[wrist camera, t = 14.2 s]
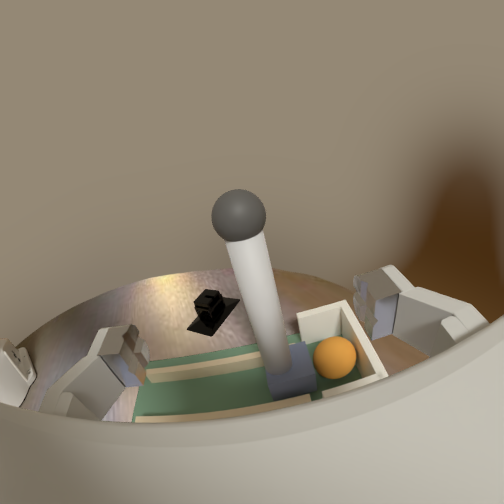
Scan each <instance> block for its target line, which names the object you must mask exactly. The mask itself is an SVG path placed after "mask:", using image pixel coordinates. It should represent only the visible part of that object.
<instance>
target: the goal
mask: <svg viewBox="0 0 504 504" xmlns="http://www.w3.org/2000/svg"><path fill="white" fill-rule="evenodd" d="M296 314H297V320H298V326H299V331H300V337H301V342H303V341H305V343H306V344H310V343H314V342H317V341H321V340H324V339H326V338H329V337H334V336H338V335H341V334H342V336H343V338H345V339H347V340H348V341H350V342H351V343H352V345H353V346H354V348H355V351H356V362H355V364H356V366H357V368H358V370H359V372H360V374H361V377H362V379H359V380H357V381H354V382H351V383H348V384H344V385H341V386H338V387H335V388H332V389H328V390H325V391H322V398H326V397H329V396H333V395H336V394H340V393H343V392H346V391H349V390H352V389H355V388H358V387H361V386H364V385H367V384H369V383H372V382H375V381H378V380H380V379H383V378H385V377H388V374H387V372H386V370H385V368H384V367H383V365H382V363H381V361H380V359H379V357H378V356H377V354H376V352H375V350H374V348H373V347H372V345H371V343H370V341H369V339H368V338H367V336H366V334H365V332H364V331H363V329H362V327H361V325H360V324H359V322H358V320H357V318H356V317H355V315H354V313H353V312H352V310H351V308H350V307H349V305H348V303H347V302H346V300H343V301H340V302H336V303H333V304H329V305H326V306H322V307H319V308H315V309H311V310H308V311H304V312H300V313H296ZM292 344H295V343H292ZM289 345H291V344H289ZM263 366H264V363H263V360H262V357H261V354H260V351H258V352H253V353H248V354H243V355H238V356H233V357H228V358H223V359H217V360H211V361H205V362H199V363H192V364H186V365H178V366H171V367H163V368H154V369H146V372H147V373H146V376H147V378H148V379H149V380H150V381H151V383H159V382H169V381H178V380H187V379H194V378H202V377H209V376H215V375H221V374H227V373H233V372H238V371H244V370H249V369H254V368H258V367H263ZM307 402H311V398H310V394H305V395H301V396H297V397H293V398H289V399H285V400H280V401H275V402H271V403H266V404H260V405H255V406H249V407H243V408H237V409H230V410H223V411H215V412H207V413H197V414H185V415H169V416H136V418H135V422H136V423H160V422H185V421H200V420H211V419H220V418H228V417H236V416H243V415H249V414H255V413H261V412H267V411H272V410H277V409H282V408H286V407H291V406H295V405H299V404H303V403H307Z"/></svg>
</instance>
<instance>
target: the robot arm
mask: <svg viewBox="0 0 504 504" xmlns="http://www.w3.org/2000/svg"><path fill="white" fill-rule="evenodd" d="M354 287H355V289H356V290H357V291H356V293H355V294H354V296H353V298H354V307H355V311H356V314H357V316H358V318H359V320H361V321H363V322H365V326H364V328H365V330H366V332H367V333H368V335H369V337H370V338H371V340H374V339H378V338H381V337H384V336H387V335H390V334H393V335H394V336H396V337H398V338H399V339H401V340H403V341H404V342H406V343H408V344H410V345H411V346H413V347H415V348H416V349H418V350H420V351H421V352H423V353H425V354H427V355H428V356H430V357H429V359H427V360H425V361H423V362H421V363H418V364H416V365H414V366H412V367H409V368H407V369H405V370H403V371H400V372H398V373H395V374H393V375H390V376H388V377H385V378H383V379H380V380H378V381H375V382H372V383H369V384H367V385H364V386H361V387H358V388H355V389H352V390H349V391H346V392H343V393H340V394H336V395H333V396H329V397H326V398H322V399H319V400H315V401H311V402H307V403H303V404H299V405H295V406H291V407H286V408H282V409H277V410H272V411H267V412H261V413H255V414H249V415H243V416H236V417H228V418H220V419H211V420H200V421H185V422H160V423H136V422H112V421H101V420H102V419H103V418H104V416H105V415H106V413H107V412H108V411H109V409H110V408H111V407H112V405H113V404H114V403H115V401H116V400H117V399H118V397H119V396H120V395H121V393H122V392H123V391H124V389H125V387H134V386H144V381H145V377H146V373H147V372H146V371H145V369H144V368H145V367H146V366H147V365H148V364H149V359H150V354H149V348H148V346H147V344H146V342H145V340H143V339H142V338H140V337H138V336H139V331H138V329H137V328H136V326H135V325H132V324H130V325H122V326H114V327H107V328H101V329H100V330H99V331H98V333H97V335H96V337H95V339H94V341H93V343H92V345H91V348H90V350H89V352H88V354H87V357H83V358H82V359H81V360H80V361H79V362H77V363H76V364H75V365H74V366H73V367H72V368H71V369H70V370H69V371H67V372H66V373H65V374H64V375H63V376H62V377H61V378H60V379H59V380H57V381H56V382H55V383H54V384H53V385H52V386H51V387H50V388H49V389H48V390H47V392H46V394H45V397H44V399H43V401H42V404H41V406H40V409H39V411H38V412H37V411H32V410H28V409H23V408H19V406H20V405H21V403H22V402H23V400H24V398H25V396H26V394H27V391H28V389H29V387H30V385H31V384H32V383H33V381H34V380H35V378H36V373H35V370H34V368H33V365H32V362H31V360H30V357H29V354H28V351H27V349H26V348H25V347H22V348H19V349H16V348H15V347H14V345H13V344H12V343H11V342H10V341H9V340H8V339H5V338H0V504H504V315H503V316H501V317H500V318H499V319H497V320H496V321H494V322H493V323H491V324H489V323H488V322H487V321H486V319H485V318H484V317H483V316H482V315H481V314H480V313H479V312H478V311H477V310H476V309H475V308H474V307H473V306H472V305H471V304H468V303H465V302H462V301H460V300H456V299H454V298H451V297H448V296H445V295H442V294H439V293H436V292H433V291H430V290H427V289H424V288H421V287H416V288H415V287H414V286H413V285H412V284H411V283H410V282H409V281H408V280H407V279H406V278H405V277H404V276H403V275H402V274H401V273H400V272H399V271H398V270H397V269H396V268H395V267H394V266H393V265H388V266H386V267H382V268H380V269H378V270H374V271H371V272H367V273H364V274H360V275H357V276H355V277H354Z"/></svg>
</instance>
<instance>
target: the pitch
mask: <svg viewBox="0 0 504 504" xmlns="http://www.w3.org/2000/svg"><path fill="white" fill-rule="evenodd" d="M338 337H343V336H342V334H341V335H338ZM287 340H288V344H292V343H299V342H301V337H300V333H297V334H293V335H289V336H287ZM322 341H323V340H321V341H317V342H314V343H310V344H306V346H307V349H308V352H309V355H310V358H311V361H312V364H313V354H314V351H315V349H316V347H317V346H318V344H319V343H320V342H322ZM258 351H259V348H258V345H257V343H255V344H251V345H246V346H241V347H236V348H231V349H226V350H221V351H215V352H210V353H204V354H198V355H192V356H185V357H179V358H172V359H164V360H157V361H149V364H148V365H147V366H146V367H145V368H144V369H145V371H146V369H154V368H163V367H171V366H178V365H186V364H192V363H199V362H205V361H211V360H217V359H223V358H228V357H233V356H238V355H243V354H248V353H253V352H258ZM313 367H314V364H313ZM314 370H315V374H316V383H317V391H314V392H311V393H307V394H310V398H311V401H315V400H319V399H322V391H325V390H328V389H332V388H335V387H338V386H341V385H344V384H348V383H351V382H354V381H357V380H359V379H362V377H361V374H360V372H359V370H358V368H357V366H356V364H355V365H354V367H353V369H352V370H351V371H350V372H349V373H348V374H347V375H346V376H344V377H342V378H338V379H328V378H325V377H323V376H322V375H320V374H319V373H318V372H317V371H316V369H315V367H314ZM303 395H305V394H303ZM299 396H301V395H299ZM295 397H297V396H295ZM291 398H293V397H291ZM286 399H289V398H286ZM282 400H285V399H282ZM277 401H280V400H277ZM271 402H275V401H273V398H272V395H271V393H270V390H269V387H268V383H267V377H266V370H265V366H263V367H258V368H254V369H249V370H244V371H238V372H233V373H227V374H221V375H215V376H209V377H202V378H194V379H187V380H178V381H169V382H159V383H151V381H150V380H149V379H148V378H147V376H146V377H145V381H144V386H139V391H138V395H137V399H136V404H135V408H134V413H133V417H132V422H135V418H136V416H169V415H185V414H197V413H207V412H215V411H223V410H230V409H237V408H243V407H249V406H255V405H260V404H266V403H271Z"/></svg>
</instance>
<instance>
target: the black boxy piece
mask: <svg viewBox="0 0 504 504" xmlns="http://www.w3.org/2000/svg"><path fill="white" fill-rule="evenodd" d="M239 301H240V299H232V298H225V297H222V294H220V293H219V291H216V290H208V289H205V290H204V291H203V292H202V293H201V294H200V295H199V297H198V298H197V299H196V300H195V301H194V304H195V307H194V308H195V310H196V312H197V314H198V317H197V318H196V319H195V320H194V321H193V322H192V324H191V325H190V326H189V327H188V328H187V330H189V331H193V332H196V333H200V334H204V335H207V336H213V335H214V334H215V332H216V331H217V330H218V328H219V327H220V326H221V324H222V323H223V322H224V321H225V319H226V318H227V317H228V315H229V314H230V313H231V311H232V310H233V309H234V308H235V306H236V305H237V304H238V302H239Z"/></svg>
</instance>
